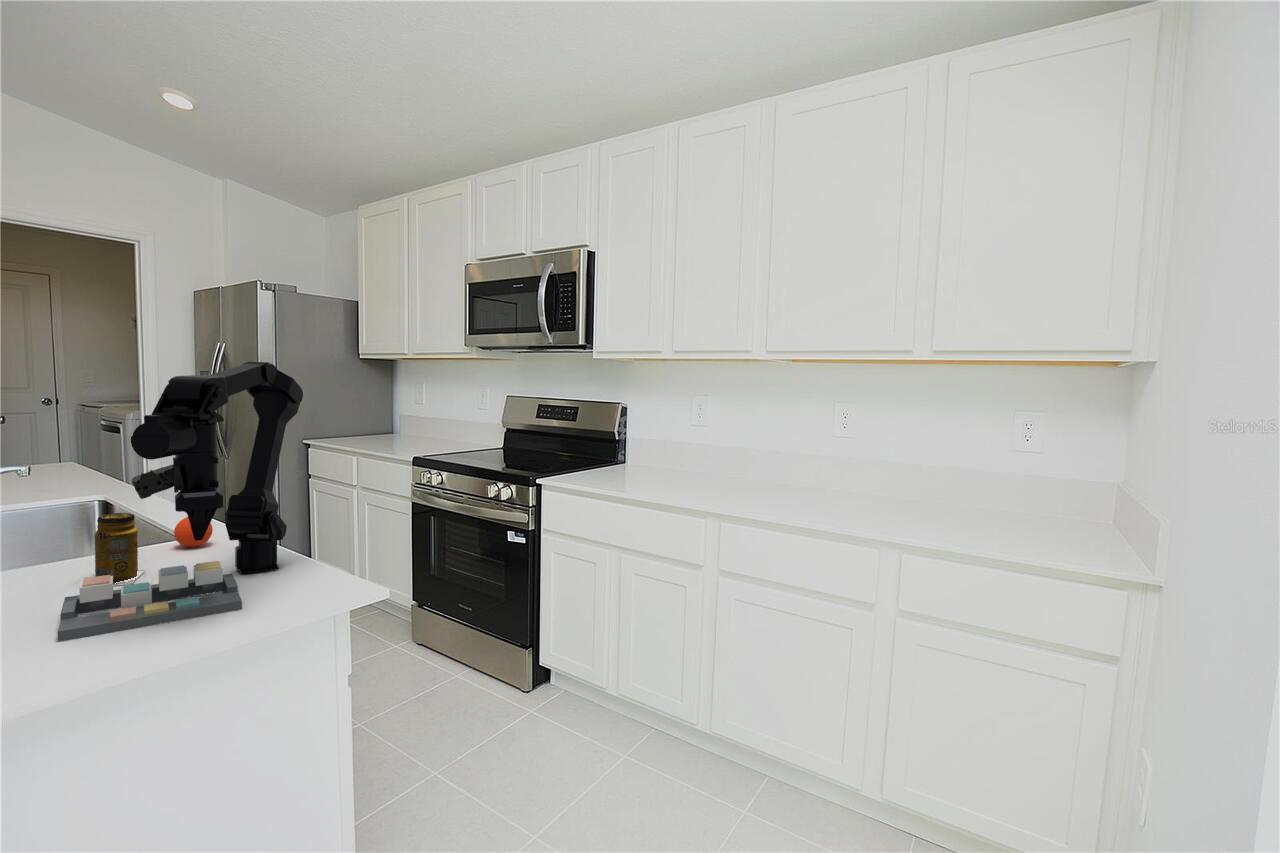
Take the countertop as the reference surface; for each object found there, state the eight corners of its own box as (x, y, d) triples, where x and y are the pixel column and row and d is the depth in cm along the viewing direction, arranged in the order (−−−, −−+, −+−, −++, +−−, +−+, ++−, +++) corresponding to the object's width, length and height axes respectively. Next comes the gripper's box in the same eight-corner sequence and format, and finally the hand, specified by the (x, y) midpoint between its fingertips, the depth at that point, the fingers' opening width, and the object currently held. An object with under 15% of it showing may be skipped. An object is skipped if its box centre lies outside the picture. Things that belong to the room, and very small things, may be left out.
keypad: (232, 586, 111) (232, 573, 111) (241, 609, 101) (241, 594, 101) (65, 612, 97) (65, 597, 96) (57, 641, 87) (57, 624, 87)
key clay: (113, 597, 98) (112, 573, 98) (112, 606, 95) (112, 581, 94) (81, 602, 96) (81, 578, 95) (79, 611, 92) (79, 586, 92)
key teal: (151, 604, 101) (150, 581, 101) (151, 612, 98) (151, 588, 98) (121, 608, 99) (121, 585, 99) (121, 617, 96) (120, 593, 95)
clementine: (173, 543, 135) (173, 512, 134) (211, 539, 139) (211, 509, 138) (174, 552, 128) (173, 520, 128) (213, 548, 133) (213, 516, 132)
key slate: (186, 586, 104) (186, 564, 104) (188, 594, 101) (188, 571, 101) (158, 590, 102) (158, 568, 102) (159, 599, 99) (159, 575, 98)
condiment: (145, 570, 117) (145, 510, 116) (131, 585, 109) (130, 520, 109) (97, 574, 114) (96, 512, 113) (79, 589, 106) (78, 523, 105)
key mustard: (220, 581, 107) (219, 560, 107) (222, 589, 104) (222, 566, 104) (193, 585, 105) (193, 563, 105) (195, 593, 102) (195, 570, 101)
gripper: (136, 445, 104) (139, 532, 105) (132, 461, 89) (135, 563, 91) (215, 442, 111) (216, 524, 112) (222, 457, 96) (224, 551, 98)
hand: (198, 539), depth 103 cm, fingers closed
